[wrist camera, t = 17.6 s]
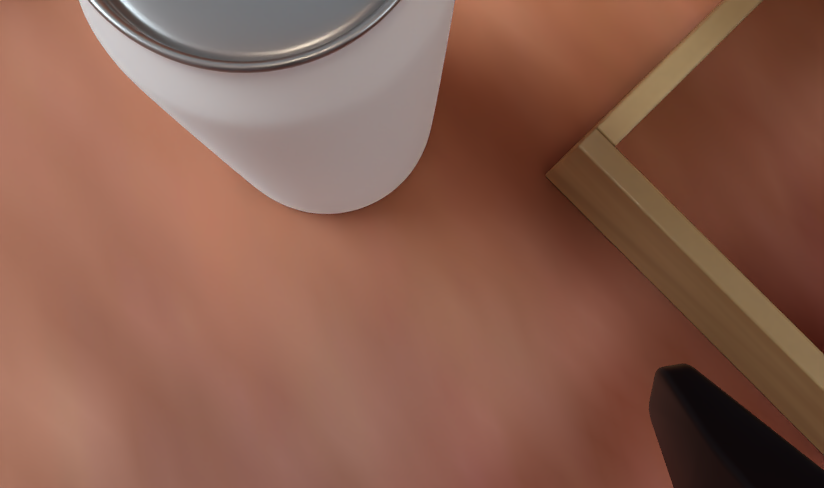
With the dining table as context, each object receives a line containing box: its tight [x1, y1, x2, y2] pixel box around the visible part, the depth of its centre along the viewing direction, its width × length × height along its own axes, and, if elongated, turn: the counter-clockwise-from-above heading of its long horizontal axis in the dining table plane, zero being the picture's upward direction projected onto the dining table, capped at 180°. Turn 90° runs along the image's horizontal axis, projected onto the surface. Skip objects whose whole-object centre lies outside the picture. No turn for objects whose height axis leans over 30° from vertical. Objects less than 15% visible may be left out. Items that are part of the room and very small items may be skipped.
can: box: [79, 0, 455, 214], centre depth 16 cm, size 6×6×12 cm
